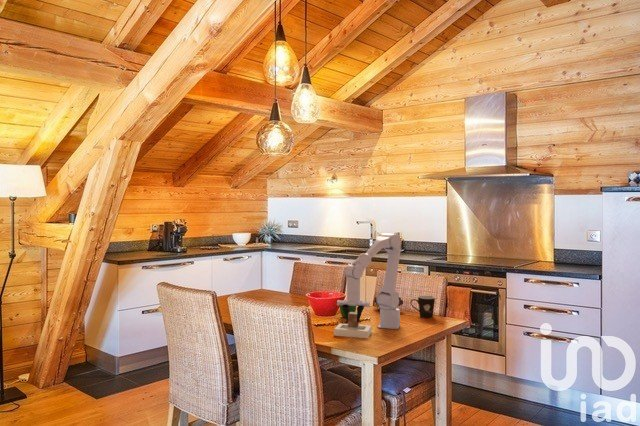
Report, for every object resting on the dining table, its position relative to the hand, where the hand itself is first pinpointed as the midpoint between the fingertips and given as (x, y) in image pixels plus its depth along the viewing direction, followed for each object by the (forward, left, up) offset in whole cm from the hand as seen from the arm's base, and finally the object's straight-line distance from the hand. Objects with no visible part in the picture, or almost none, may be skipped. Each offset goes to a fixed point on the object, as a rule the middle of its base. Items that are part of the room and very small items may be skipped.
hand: (353, 322), depth 235 cm
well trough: (0, 0, -5) cm, 5 cm away
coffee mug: (-28, -43, -6) cm, 51 cm away
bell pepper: (+9, -30, -6) cm, 32 cm away
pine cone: (-8, -52, -6) cm, 53 cm away
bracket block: (0, 0, -2) cm, 2 cm away
